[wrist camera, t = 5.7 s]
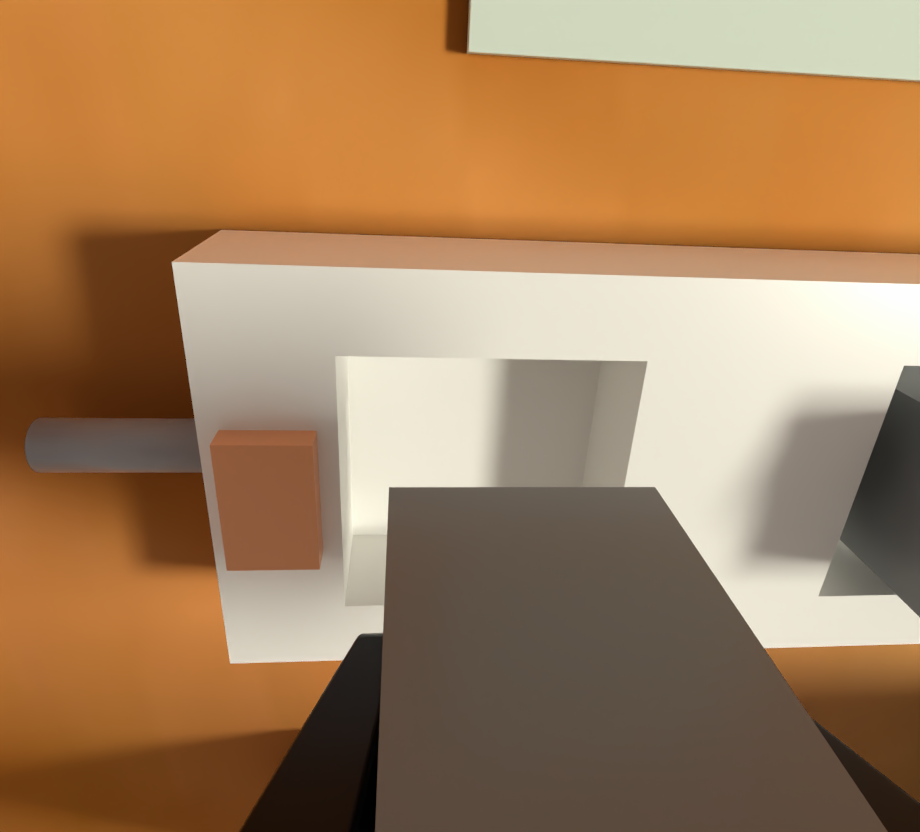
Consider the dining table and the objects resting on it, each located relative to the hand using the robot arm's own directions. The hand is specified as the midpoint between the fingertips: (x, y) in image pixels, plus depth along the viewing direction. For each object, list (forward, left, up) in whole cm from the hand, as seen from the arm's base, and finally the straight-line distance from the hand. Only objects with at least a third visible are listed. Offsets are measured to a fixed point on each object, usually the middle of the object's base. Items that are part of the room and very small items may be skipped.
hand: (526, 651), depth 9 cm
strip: (-3, 0, -7) cm, 8 cm away
